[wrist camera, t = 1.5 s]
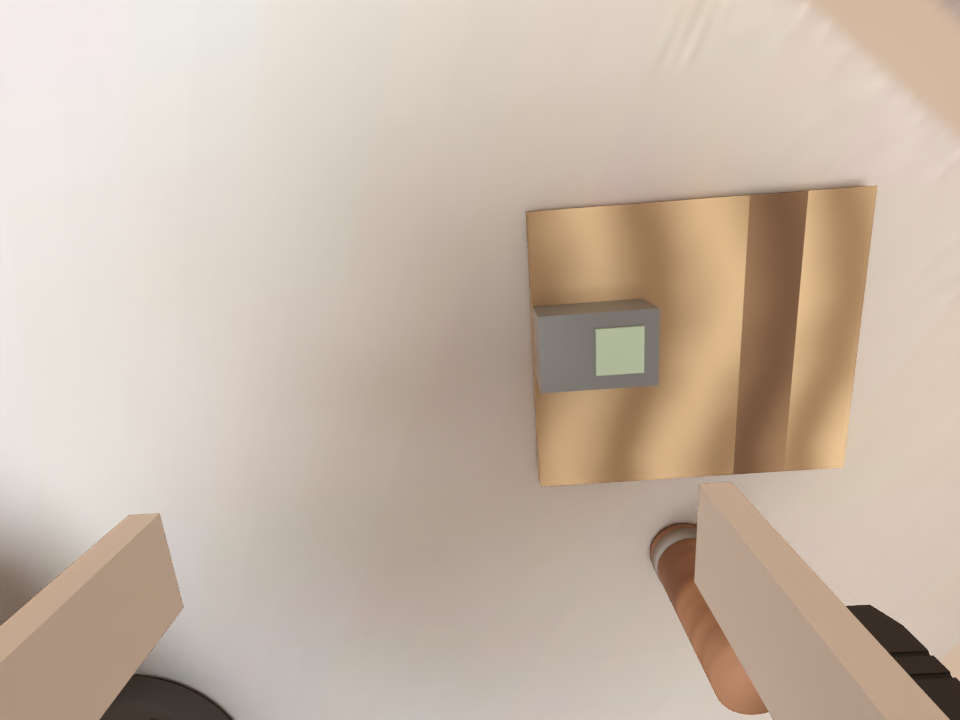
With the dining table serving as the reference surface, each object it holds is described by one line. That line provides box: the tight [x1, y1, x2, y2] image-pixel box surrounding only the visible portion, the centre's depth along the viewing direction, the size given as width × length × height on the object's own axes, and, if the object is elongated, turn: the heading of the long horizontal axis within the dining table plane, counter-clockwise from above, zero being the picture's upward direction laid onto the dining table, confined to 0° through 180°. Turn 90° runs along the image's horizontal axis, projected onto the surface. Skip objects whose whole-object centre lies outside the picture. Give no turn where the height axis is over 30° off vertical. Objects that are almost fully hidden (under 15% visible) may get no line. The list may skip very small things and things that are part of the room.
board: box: [526, 186, 877, 487], centre depth 30 cm, size 18×16×1 cm
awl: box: [650, 524, 768, 715], centre depth 30 cm, size 4×4×10 cm
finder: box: [532, 299, 660, 393], centre depth 28 cm, size 6×4×3 cm, turn 94°
